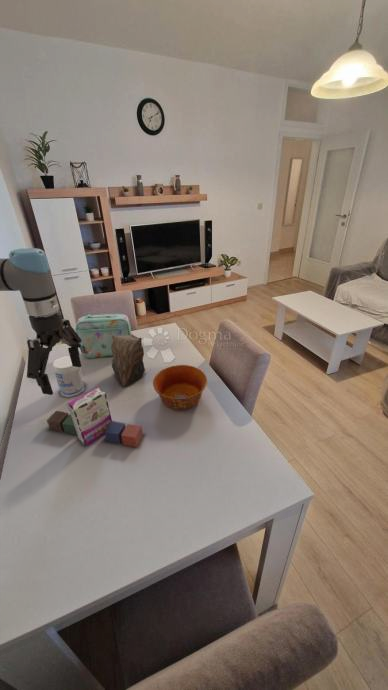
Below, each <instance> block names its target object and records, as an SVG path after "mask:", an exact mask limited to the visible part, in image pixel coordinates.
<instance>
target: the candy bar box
mask: <svg viewBox="0 0 388 690" xmlns="http://www.w3.org/2000/svg"><path fill="white" fill-rule="evenodd" d="M67 407H68V410H69V414H71V416H72V419H73V422H74V426H75V429H76V431H77V435H76V436H78V440H79V441H80V442H81V443H82V444H83V445H84V446H87V445H89V444H90V443H92V442H93V441H95V440H96V439H98V438H100V437H101V436H103V435H105V430H106V429H107V427H108V426H109V424H110V423H111V421H113V419H112V415H111V411H110V406H109V402H108V397H107V393H106V391H103V390H102V389H101V388H100V387H98V386H97V387H96V388H94V389H92V390H90V391H89V392H86V393H84V394H83V395H81V396H79V397H76V398H75V399H72V400H71V401H70V402H68V403H67Z"/></svg>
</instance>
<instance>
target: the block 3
mask: <svg viewBox="0 0 388 690" xmlns="http://www.w3.org/2000/svg"><path fill="white" fill-rule="evenodd" d="M126 426H127V425H126V423H124V422H118V421H114V420H112V421H111V423H110V424H109V426H108V427H107V429H106V430H105V433H104V436H105V441H106V442H110V443H113V444H118V445H119V444H121V443H122V437H121V435H122V433H123V431H124V430H125V428H126Z"/></svg>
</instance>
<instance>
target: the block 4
mask: <svg viewBox="0 0 388 690" xmlns="http://www.w3.org/2000/svg"><path fill="white" fill-rule="evenodd" d="M125 426H126V428H125V430H124V431H123V433H122V435H121V437H122V441H121V443H122V445H124V446H129V447H134V448H138V446H139V444H140V442H141V440H142V438H143V436H144V435H143V429H142V426H140V425H135V424H131V423H130V424H129V423H127V424H126V425H125Z"/></svg>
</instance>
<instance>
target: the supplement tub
mask: <svg viewBox="0 0 388 690" xmlns="http://www.w3.org/2000/svg"><path fill="white" fill-rule="evenodd" d="M52 366H53V372H54V374H55V380H56V382H57V387H58V389H59V393H60V394H61V396H63V397H66V398H69V397H75V396H77V395H79V394H81V393H82V392H83V391H84V390H85V383H84V379H83V374H82V369H81V367H74V366H72V362H71V358H70V355H65V356H61V357H59V358H57V359H55V360H54V361H53V362H52Z"/></svg>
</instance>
